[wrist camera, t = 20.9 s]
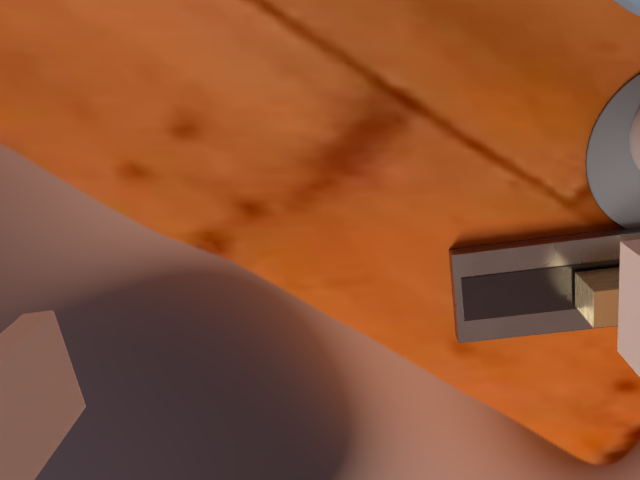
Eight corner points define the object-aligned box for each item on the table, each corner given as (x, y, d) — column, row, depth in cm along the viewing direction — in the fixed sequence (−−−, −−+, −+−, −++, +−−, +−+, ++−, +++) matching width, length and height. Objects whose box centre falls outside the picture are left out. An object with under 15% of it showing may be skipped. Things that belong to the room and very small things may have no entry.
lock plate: (448, 249, 41) (452, 255, 39) (667, 222, 39) (677, 228, 38) (455, 335, 43) (458, 343, 42) (662, 312, 42) (671, 320, 40)
